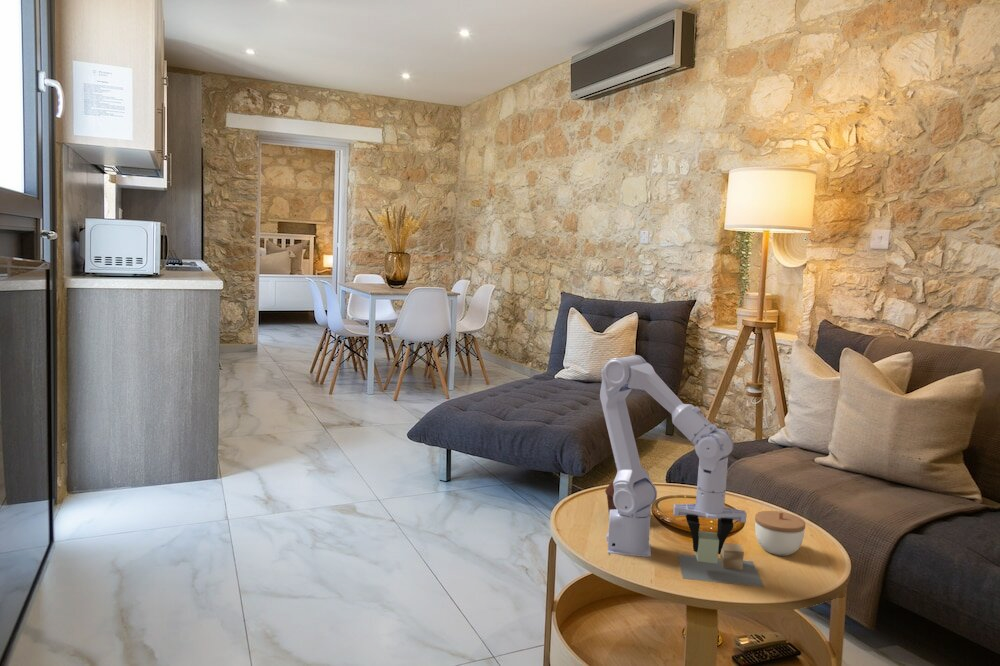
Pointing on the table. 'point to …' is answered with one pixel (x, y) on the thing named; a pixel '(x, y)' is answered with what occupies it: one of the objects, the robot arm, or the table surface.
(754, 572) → the slate mat
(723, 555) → the beech cube
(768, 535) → the lidded jar
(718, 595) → the table surface
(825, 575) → the table surface
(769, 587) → the table surface
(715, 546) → the green block
